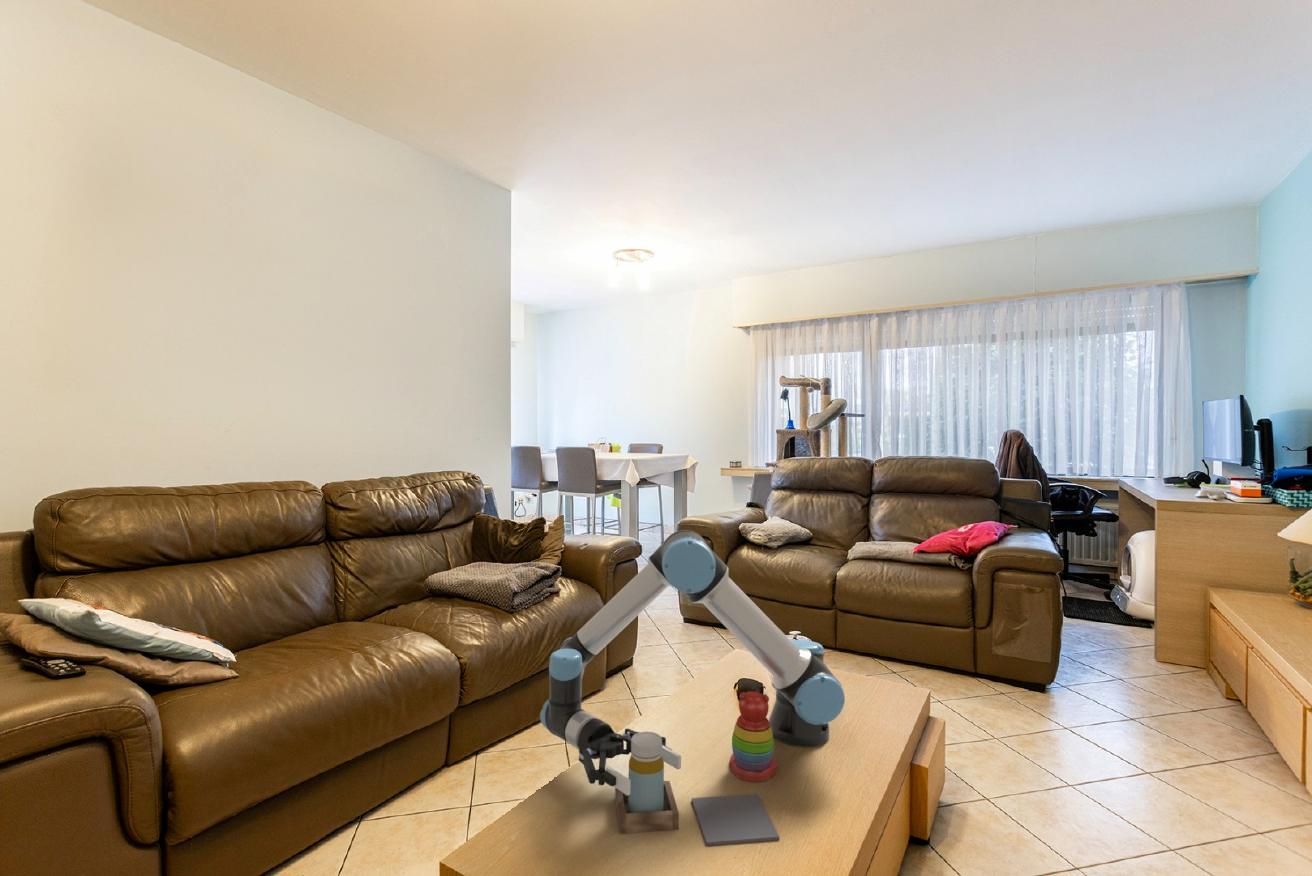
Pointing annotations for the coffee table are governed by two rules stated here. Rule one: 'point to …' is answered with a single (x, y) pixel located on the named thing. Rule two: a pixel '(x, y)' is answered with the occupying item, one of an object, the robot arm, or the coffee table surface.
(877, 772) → the coffee table surface
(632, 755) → the bottle
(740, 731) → the stacking bear
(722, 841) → the charcoal mat
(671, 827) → the walnut collar
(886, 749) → the coffee table surface
